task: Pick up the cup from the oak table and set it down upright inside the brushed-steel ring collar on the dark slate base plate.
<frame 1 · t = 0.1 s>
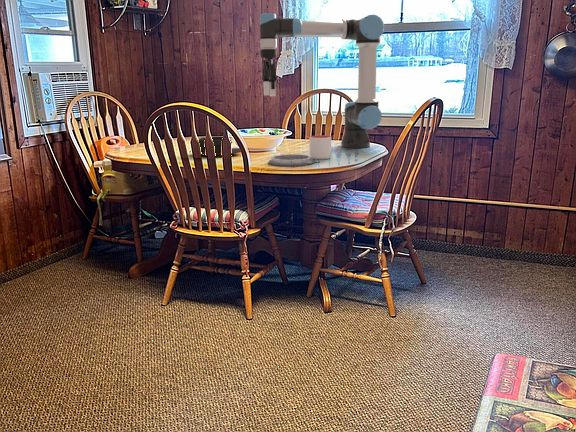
hand: (269, 95, 259), 28 cm above the table, fingers open, 13 cm apart
casserole: (215, 155, 268), on the table
ring collar: (291, 162, 242), on the table
cup: (320, 158, 254), on the table
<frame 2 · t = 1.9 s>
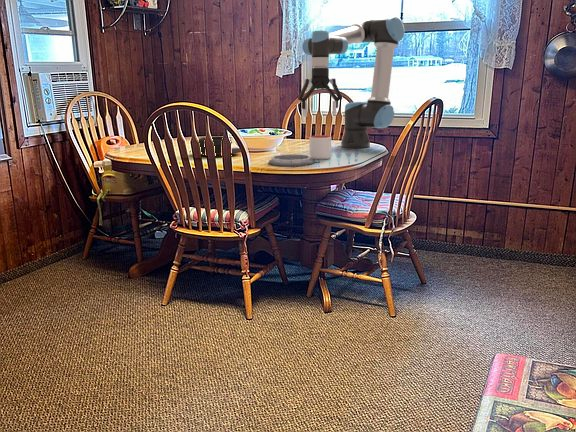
hand: (320, 116, 249), 19 cm above the table, fingers open, 13 cm apart
nothing on the table moved.
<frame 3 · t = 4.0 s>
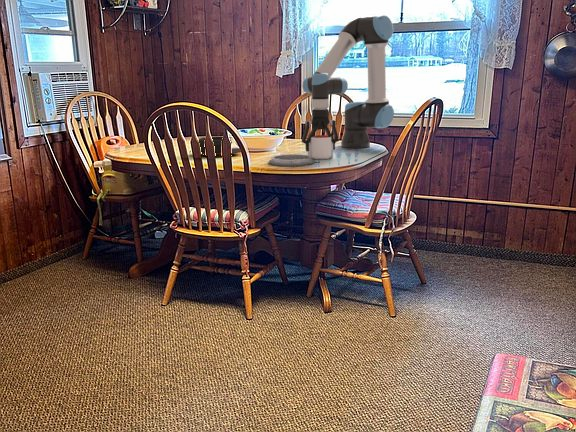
hand: (320, 157, 253), 0 cm above the table, fingers closed on cup, 10 cm apart
cup: (320, 158, 254), on the table, touching gripper
everything else where it was.
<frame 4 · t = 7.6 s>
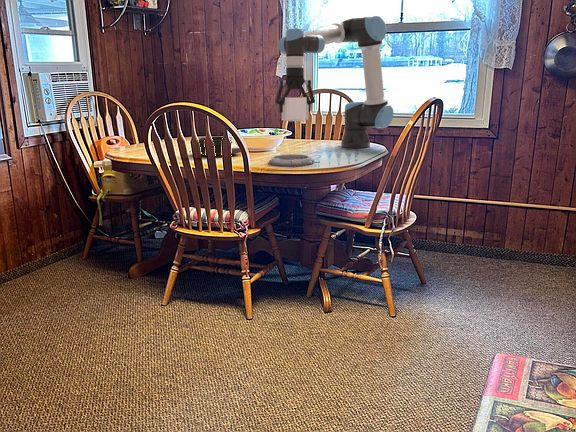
hand: (295, 119, 239), 19 cm above the table, fingers closed on cup, 10 cm apart
cup: (295, 121, 239), point 18 cm above the table, touching gripper
everything else where it was.
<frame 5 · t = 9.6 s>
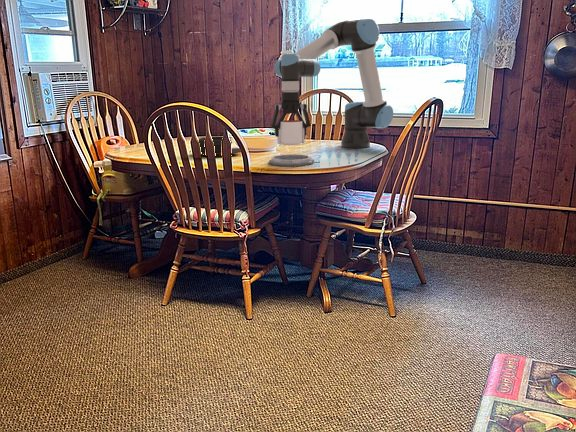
hand: (291, 143, 240), 8 cm above the table, fingers closed on cup, 10 cm apart
cup: (291, 144, 240), point 8 cm above the table, touching gripper
everything else where it was.
when the fingers open (3 cm above the table, at t = 11.2 s): cup drops 2 cm, resting on ring collar.
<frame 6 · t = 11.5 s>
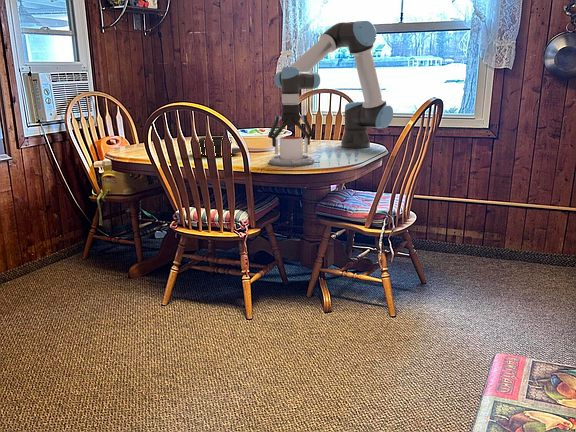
hand: (291, 153, 241), 4 cm above the table, fingers open, 13 cm apart
cup: (291, 161, 242), point 1 cm above the table, touching ring collar
everything else where it was.
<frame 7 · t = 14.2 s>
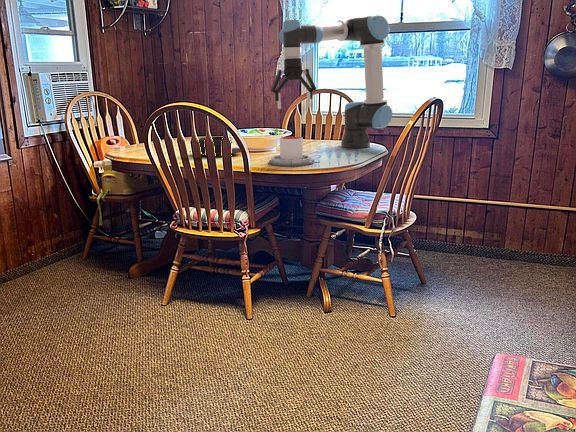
hand: (294, 107, 243), 23 cm above the table, fingers open, 13 cm apart
nothing on the table moved.
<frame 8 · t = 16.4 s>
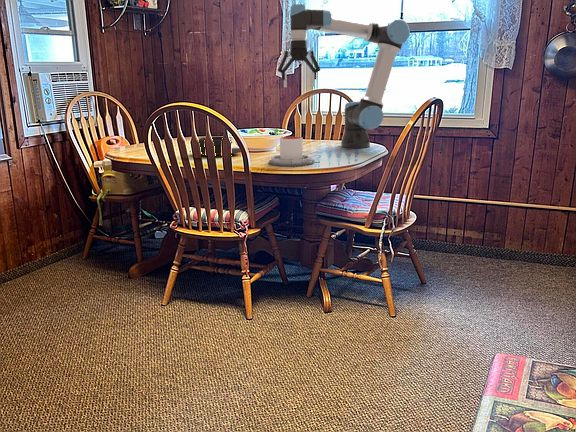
hand: (299, 87, 260), 32 cm above the table, fingers open, 13 cm apart
nothing on the table moved.
at the end: cup 0.1 cm off-centre on the ring collar, point 0.8 cm above the ring collar's base; cup tilted 0°; the gripper is holding nothing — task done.
